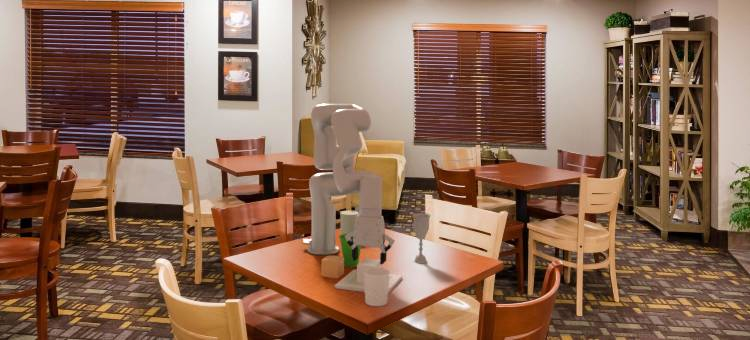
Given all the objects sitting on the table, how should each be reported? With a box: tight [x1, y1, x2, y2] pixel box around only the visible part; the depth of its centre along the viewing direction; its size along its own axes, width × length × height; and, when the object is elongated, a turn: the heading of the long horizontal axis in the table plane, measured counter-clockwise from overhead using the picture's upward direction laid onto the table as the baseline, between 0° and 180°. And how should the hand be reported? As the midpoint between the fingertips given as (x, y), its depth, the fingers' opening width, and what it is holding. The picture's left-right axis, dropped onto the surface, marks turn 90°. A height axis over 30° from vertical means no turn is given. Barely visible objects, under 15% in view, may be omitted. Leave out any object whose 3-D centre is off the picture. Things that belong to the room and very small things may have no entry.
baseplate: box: [334, 269, 403, 294], centre depth 207 cm, size 18×18×1 cm
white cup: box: [364, 267, 391, 307], centre depth 188 cm, size 8×8×10 cm
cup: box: [338, 233, 362, 268], centre depth 226 cm, size 9×9×11 cm
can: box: [339, 209, 359, 236], centre depth 265 cm, size 9×9×12 cm
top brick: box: [321, 255, 345, 279], centre depth 215 cm, size 6×6×6 cm
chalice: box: [412, 212, 432, 264], centre depth 232 cm, size 7×7×18 cm
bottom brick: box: [356, 257, 383, 283], centre depth 206 cm, size 6×8×6 cm
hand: (368, 261), depth 207 cm, fingers open, 9 cm apart
